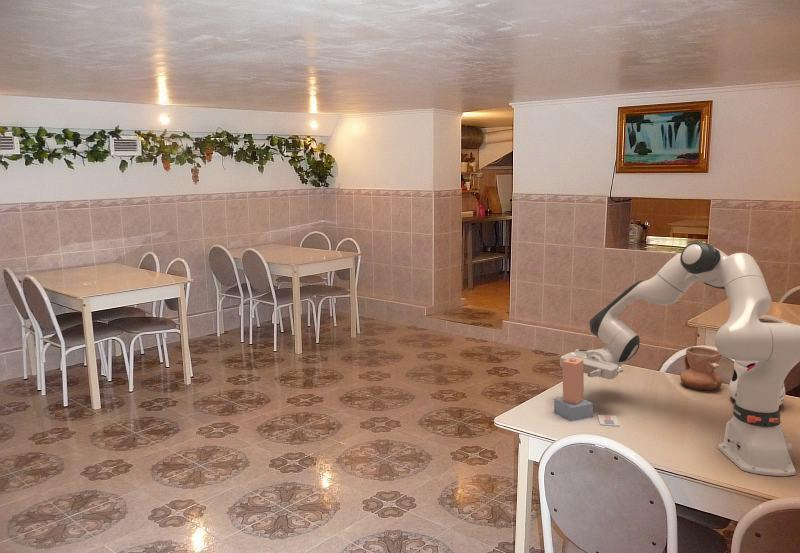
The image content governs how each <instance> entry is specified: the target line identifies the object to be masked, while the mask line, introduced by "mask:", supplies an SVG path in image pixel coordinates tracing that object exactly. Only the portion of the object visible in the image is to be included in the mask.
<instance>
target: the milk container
mask: <svg viewBox="0 0 800 553" xmlns="http://www.w3.org/2000/svg"><path fill="white" fill-rule="evenodd" d="M755 362H756V361H740V360H734V362H733V373H732V377H731V380H730V381H729V387H728V390H729V395H730V398H731V399H732V400H733V401H734V402H735V401H736V394H737V384H738V379H739V377H740V376H741V375H742V374H743V373H744V372H746V371H747V369H748V368H749V367H750V366H753V365H755ZM785 397H786V387H785V382H783V385H782V389H781V395H780V401H779V407H780V406H782V404H784V401H785Z"/></svg>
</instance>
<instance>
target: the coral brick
mask: <svg viewBox="0 0 800 553" xmlns="http://www.w3.org/2000/svg"><path fill="white" fill-rule="evenodd" d="M584 374H585V373H584V363H583V360H581V359H575V358H568V359H566V360H564V361H563V367H562V397H563V401H565V402H569V403H573V404H578V403H579V402H581V401H582V400H584V399H585V396H584V395H585V394H584V393H585V392H584V391H585V388H584V387H585V386H584V383H585V382H584V381H585V379H584V376H585V375H584Z"/></svg>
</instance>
